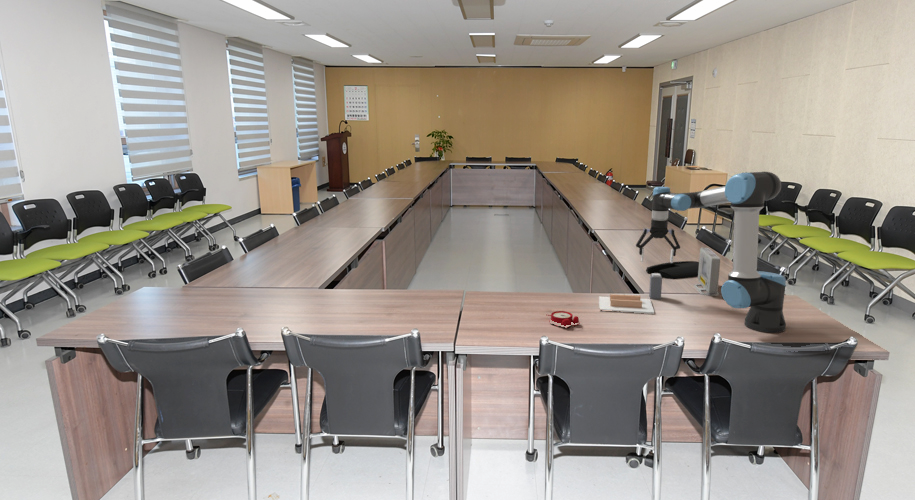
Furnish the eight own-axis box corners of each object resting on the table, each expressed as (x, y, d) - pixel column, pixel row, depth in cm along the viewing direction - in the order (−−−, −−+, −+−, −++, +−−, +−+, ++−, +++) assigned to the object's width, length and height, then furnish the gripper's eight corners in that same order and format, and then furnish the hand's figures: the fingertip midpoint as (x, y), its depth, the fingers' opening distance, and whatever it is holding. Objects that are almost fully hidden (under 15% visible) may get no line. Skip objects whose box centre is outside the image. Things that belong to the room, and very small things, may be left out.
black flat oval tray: (724, 273, 313) (725, 265, 312) (668, 281, 298) (669, 272, 297) (691, 264, 335) (692, 256, 334) (638, 271, 321) (638, 263, 320)
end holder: (654, 314, 245) (654, 305, 244) (599, 311, 251) (599, 302, 250) (649, 300, 264) (650, 293, 263) (598, 298, 270) (599, 290, 269)
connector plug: (660, 299, 266) (662, 275, 264) (650, 298, 267) (651, 275, 265) (659, 296, 271) (661, 273, 268) (649, 295, 272) (650, 272, 270)
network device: (721, 297, 267) (725, 258, 263) (702, 297, 269) (706, 257, 264) (709, 283, 291) (712, 247, 287) (691, 283, 293) (694, 247, 289)
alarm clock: (559, 309, 244) (584, 310, 231) (561, 323, 244) (586, 324, 232) (542, 313, 238) (567, 315, 226) (544, 327, 238) (569, 330, 226)
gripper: (686, 218, 261) (682, 261, 266) (631, 217, 267) (629, 258, 272) (688, 221, 254) (685, 264, 259) (633, 219, 260) (630, 262, 265)
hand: (656, 261), depth 265 cm, fingers open, 13 cm apart
